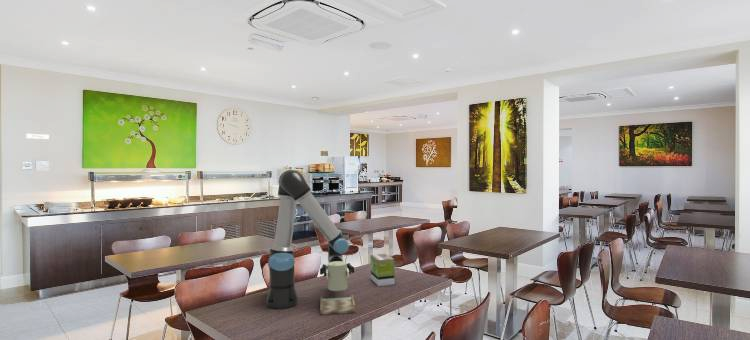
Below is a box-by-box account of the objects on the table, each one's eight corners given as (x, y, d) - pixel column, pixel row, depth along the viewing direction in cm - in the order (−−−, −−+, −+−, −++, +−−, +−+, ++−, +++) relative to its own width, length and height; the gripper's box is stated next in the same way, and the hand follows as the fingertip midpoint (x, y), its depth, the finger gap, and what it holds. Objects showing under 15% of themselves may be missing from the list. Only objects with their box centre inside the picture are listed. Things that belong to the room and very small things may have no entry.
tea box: (370, 279, 240) (369, 254, 240) (386, 277, 243) (386, 252, 243) (377, 286, 226) (377, 259, 225) (395, 284, 229) (394, 258, 228)
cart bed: (320, 314, 183) (320, 306, 183) (320, 303, 199) (320, 295, 199) (355, 312, 185) (355, 304, 185) (352, 301, 201) (352, 294, 201)
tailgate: (320, 303, 198) (320, 301, 198) (320, 300, 203) (320, 298, 203) (352, 301, 200) (352, 299, 200) (352, 298, 205) (352, 296, 205)
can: (323, 289, 190) (323, 263, 190) (335, 284, 198) (334, 259, 198) (340, 292, 186) (339, 265, 186) (351, 286, 194) (350, 261, 194)
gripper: (357, 269, 211) (361, 281, 189) (314, 272, 208) (314, 284, 186) (357, 255, 211) (361, 265, 189) (314, 257, 208) (313, 268, 186)
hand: (337, 275), depth 187 cm, fingers closed on can, 9 cm apart
